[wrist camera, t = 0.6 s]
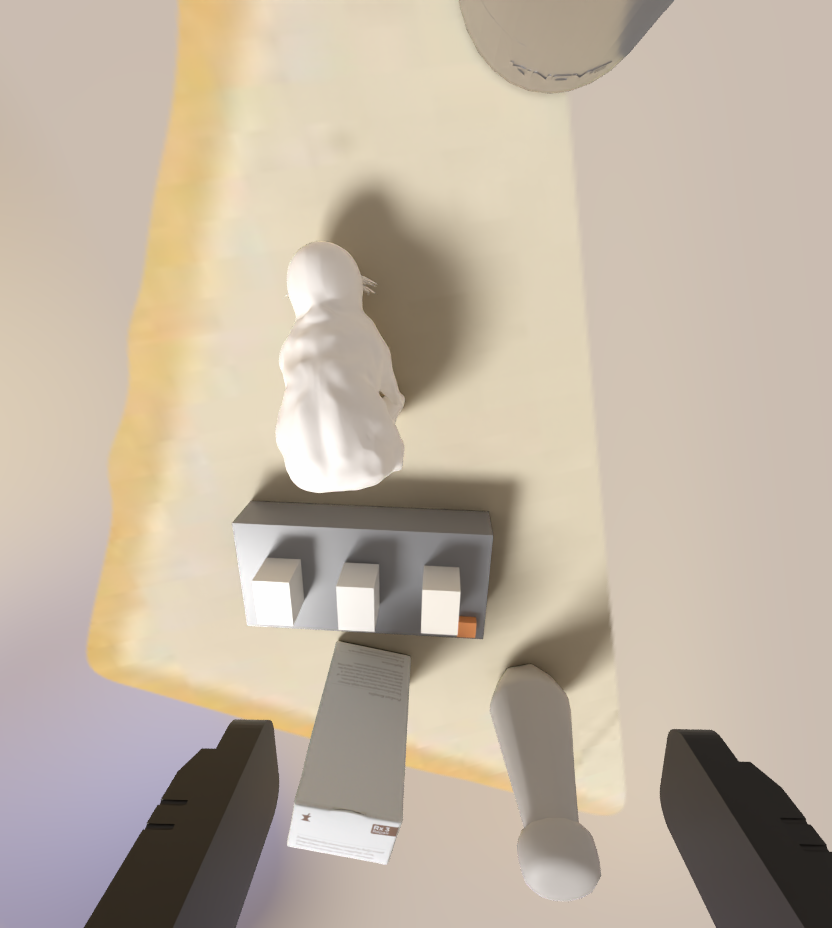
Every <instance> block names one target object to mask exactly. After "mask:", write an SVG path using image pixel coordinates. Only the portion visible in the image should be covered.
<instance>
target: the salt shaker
mask: <svg viewBox="0 0 832 928" xmlns="http://www.w3.org/2000/svg"><path fill="white" fill-rule="evenodd" d="M490 714H491V717H492V720H493V724H494V727H495V731H496V734H497V737H498V741H499V744H500V748H501V751H502V754H503V758H504V761H505V765H506V768H507V771H508V775H509V778H510V782H511V785H512V788H513V792H514V795H515V799H516V802H517V805H518V809H519V812H520V816H521V819H522V822H523V826H524V829H522V831H521V834H520V836H519V838H518V843H517V851H518V860H519V864H520V867H521V871H522V875H523V877H524V880H525V883H526V884H527V885H528V886H529V887H530V888H531V889H532V890H533V891H534V892H535V893H537V894H538V895H539V896H541V897H543V898H547V899H550V900H553V901H571V900H576V899H580V898H583V897H585V896H586V895H588V894H590V893H591V892H592V891H593V889H594V888H595V886H596V885H597V883H598V881H599V879H600V877H601V870H600V862H599V857H598V853H597V849H596V846H595V843H594V840H593V837H592V835H591V834H590V832H589V831H588V830H587V829H586V828H585V827H583V826H582V825H581V824H580V823H579V821H578V809H577V797H576V785H575V772H574V755H573V739H572V722H571V709H570V705H569V700H568V697H567V695H566V693H565V692H564V691H563V689H562V688H561V687H560V686H559V685H558V684H557V683H556V682H555V681H554V679H553V678H552V677H551V676H550V675H549V674H547V673H546V672H544V671H542V670H541V669H539V668H537V667H536V666H534V665H532V664H527V665H521V666H515V667H510V668H507V670H506V671H505V673H504V674H503V676H502V677H501V679H500V680H499V682H498V683H497V686H496V689H495V691H494V694H493V697H492V700H491V703H490Z"/></svg>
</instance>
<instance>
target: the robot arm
mask: <svg viewBox="0 0 832 928" xmlns="http://www.w3.org/2000/svg"><path fill="white" fill-rule="evenodd" d="M673 1H674V0H459V4H460V8H461V11H462V15H463V18H464V21H465V25H466V28H467V31H468V33H469V35H470V37H471V39H472V41H473V43H474V45H475V47H476V49H477V51H478V52H479V54H480V55H481V56H482V57H483V58H484V60H485V61H486V62H487V63H488V65H489V66H490V67H491V68H492V69H493V70H494V71H495V72H496V73H498V74H499V75H500V76H502V77H503V78H504V79H506V80H507V81H508V82H509V83H512V84H514V85H516V86H519V87H521V88H524V89H526V90H528V91H535V92H542V93H557V92H566V91H571V90H574V89H577V88H579V87H582V86H585V85H587V84H590V83H592V82H594V81H595V80H597V79H598V78H600V77H601V76H603V75H604V74H606V73H608V72H609V71H611V70H612V69H613V68H614V67H615V66H616V65H617V64H618V63H619V62H620V61H621V60H622V59H623V58H624V57H626V56H627V55H628V54H629V53H630V52H631V50H632V49H633V48H634V46H636V45H637V43H638V42H639V41H640V40H641V39H642V37H643V36H644V35H645V34H646V33H647V31H648V30H649V29H650V28H651V27H652V25H653V24H654V23H655V22H656V21H657V19H658V18H659V17H660V16H661V15H662V13H663V12H664V11H665V10H666V9H667V8H668V7H669V6H670V5H671V4H672V2H673ZM274 737H275V736H274V728H273V723H272V721H271V720H233V721H232V722H231V723H230V724H229V726H228V728H227V729H226V731H225V733H224V735H223V737H222V739H221V740H220V742H219V744H218V746H217V748H216V749H201V750H200V751H199V752H198V753H197V754H196V755H195V756H194V757H193V758H192V759H191V760H189V761H188V762H187V763H186V764H185V765H184V766H183V767H182V768H181V769H180V770H179V771H178V772H177V774H176V775H175V777H174V779H173V780H172V782H171V784H170V786H169V787H168V789H167V790H166V792H165V794H164V795H163V797H162V799H161V803H160V805H157V807H156V809H155V810H154V812H153V814H152V815H151V817H150V819H149V820H148V822H147V826H146V828H145V830H142V832H141V834H140V835H139V837H138V838H137V840H136V842H135V843H134V845H133V847H132V848H131V850H130V852H129V854H128V855H127V857H126V858H125V860H124V862H123V863H122V865H121V867H120V868H119V870H118V872H117V873H116V875H115V877H114V878H113V880H112V882H111V883H110V885H109V887H108V888H107V890H106V892H105V894H104V895H103V897H102V898H101V900H100V902H99V903H98V905H97V907H96V908H95V910H94V912H93V913H92V915H91V917H90V918H89V920H88V922H87V923H86V925H85V927H84V928H236V925H237V922H238V919H239V916H240V913H241V910H242V907H243V904H244V901H245V899H246V896H247V892H248V890H249V887H250V884H251V881H252V878H253V875H254V872H255V869H256V866H257V863H258V860H259V858H260V855H261V851H262V849H263V846H264V843H265V840H266V837H267V834H268V831H269V828H270V825H271V822H272V819H273V816H274V813H275V809H276V805H277V799H278V792H279V773H278V765H277V755H276V746H275V738H274ZM660 801H661V807H662V811H663V815H664V818H665V821H666V824H667V827H668V829H669V831H670V833H671V835H672V837H673V839H674V841H675V843H676V846H677V848H678V850H679V852H680V854H681V856H682V858H683V860H684V862H685V864H686V866H687V868H688V870H689V872H690V874H691V877H692V879H693V880H694V883H695V885H696V887H697V889H698V891H699V893H700V895H701V897H702V899H703V901H704V903H705V905H706V908H707V910H708V912H709V914H710V916H711V918H712V920H713V922H714V924H715V926H716V928H832V852H829V851H828V849H827V846H826V844H825V842H824V841H823V840H822V839H821V838H820V836H819V835H818V833H817V832H816V831H815V830H814V828H813V827H812V826H811V825H808V824H807V822H806V818H805V817H804V816H803V814H802V813H801V812H800V811H799V809H798V808H797V807H796V805H795V804H794V803H793V802H792V800H791V799H790V798H789V797H788V795H787V794H786V793H785V792H784V790H783V789H782V788H781V787H780V786H779V785H778V784H777V783H775V782H774V781H773V780H772V779H770V778H769V777H768V776H767V775H765V774H764V773H763V772H762V771H761V770H759V769H758V768H757V767H756V766H755V765H753V764H752V763H751V762H739V761H738V760H737V759H736V757H735V756H734V754H733V753H732V752H731V750H730V749H729V748H728V746H727V745H726V743H725V742H724V741H723V739H722V738H721V737H720V736H719V735H718V734H717V733H716V732H715V731H712V730H687V729H685V730H684V729H672V730H670V732H669V734H668V738H667V744H666V751H665V758H664V765H663V772H662V778H661V785H660Z"/></svg>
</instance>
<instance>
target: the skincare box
mask: <svg viewBox="0 0 832 928" xmlns="http://www.w3.org/2000/svg"><path fill="white" fill-rule="evenodd" d="M410 668H411V657H410V656H408V655H403V654H398V653H393V652H388V651H384V650H379V649H374V648H369V647H364V646H359V645H354V644H350V643H345V642H340V641H337V642H336V644H335V649H334V653H333V657H332V661H331V664H330V668H329V672H328V676H327V679H326V683H325V687H324V690H323V694H322V698H321V701H320V705H319V709H318V712H317V716H316V720H315V724H314V727H313V731H312V735H311V739H310V743H309V747H308V750H307V754H306V759H305V763H304V768H303V772H302V777H301V780H300V783H299V786H298V789H297V793H296V796H295V800H294V807H293V814H292V820H291V826H290V831H289V835H288V839H287V845H288V846H289V847H295V848H300V849H306V850H311V851H316V852H322V853H327V854H333V855H338V856H343V857H349V858H355V859H359V860H365V861H371V862H376V863H380V864H385V865H386V864H388V862H389V859H390V856H391V853H392V850H393V847H394V844H395V841H396V838H397V835H398V832H399V829H400V826H401V824H402V820H403V795H404V776H405V758H406V739H407V721H408V703H409V684H410Z"/></svg>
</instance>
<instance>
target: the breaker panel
mask: <svg viewBox="0 0 832 928" xmlns="http://www.w3.org/2000/svg"><path fill="white" fill-rule="evenodd" d="M232 526H233V533H234V540H235V546H236V553H237V560H238V566H239V573H240V580H241V586H242V593H243V600H244V606H245V613H246V620H247V626H261V627H279V628H296V629H314V630H332V631H349V632H367V633H384V634H402V635H420V636H437V637H455V638H472V639H483V635H484V624H485V614H486V604H487V594H488V584H489V573H490V563H491V553H492V543H493V531H492V526H491V521H490V516H489V512H486V511H464V510H441V509H419V508H397V507H374V506H352V505H330V504H307V503H285V502H263V501H250V502H249V504H248V505H247V506H246V507H245V508H244V510H243V511H242V512H241V513H240V514H239V515H238V517H237V518H236V519H235V520H234V521H233V523H232ZM344 562H345V563H365V564H379V594H380V606H379V611H378V617H377V622H376V627H375V632H368V631H350V630H338V613H337V595H336V585H337V582H338V579H339V576H340V573H341V570H342V568H343V565H344Z"/></svg>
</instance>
